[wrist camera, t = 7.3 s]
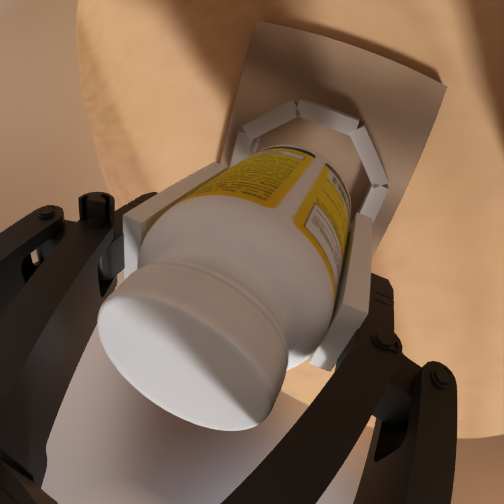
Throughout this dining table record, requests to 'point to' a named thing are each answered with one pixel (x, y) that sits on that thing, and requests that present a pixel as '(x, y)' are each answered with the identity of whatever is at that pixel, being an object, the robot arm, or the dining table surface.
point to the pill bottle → (232, 289)
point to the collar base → (335, 113)
